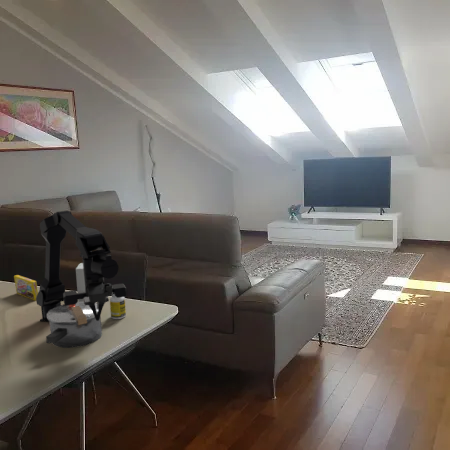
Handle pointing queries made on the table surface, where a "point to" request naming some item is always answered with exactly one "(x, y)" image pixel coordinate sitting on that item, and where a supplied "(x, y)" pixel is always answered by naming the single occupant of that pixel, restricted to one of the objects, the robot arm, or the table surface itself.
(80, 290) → the skincare box
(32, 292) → the candy box
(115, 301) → the supplement bottle
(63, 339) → the cooker pot
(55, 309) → the lid
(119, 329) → the table surface
